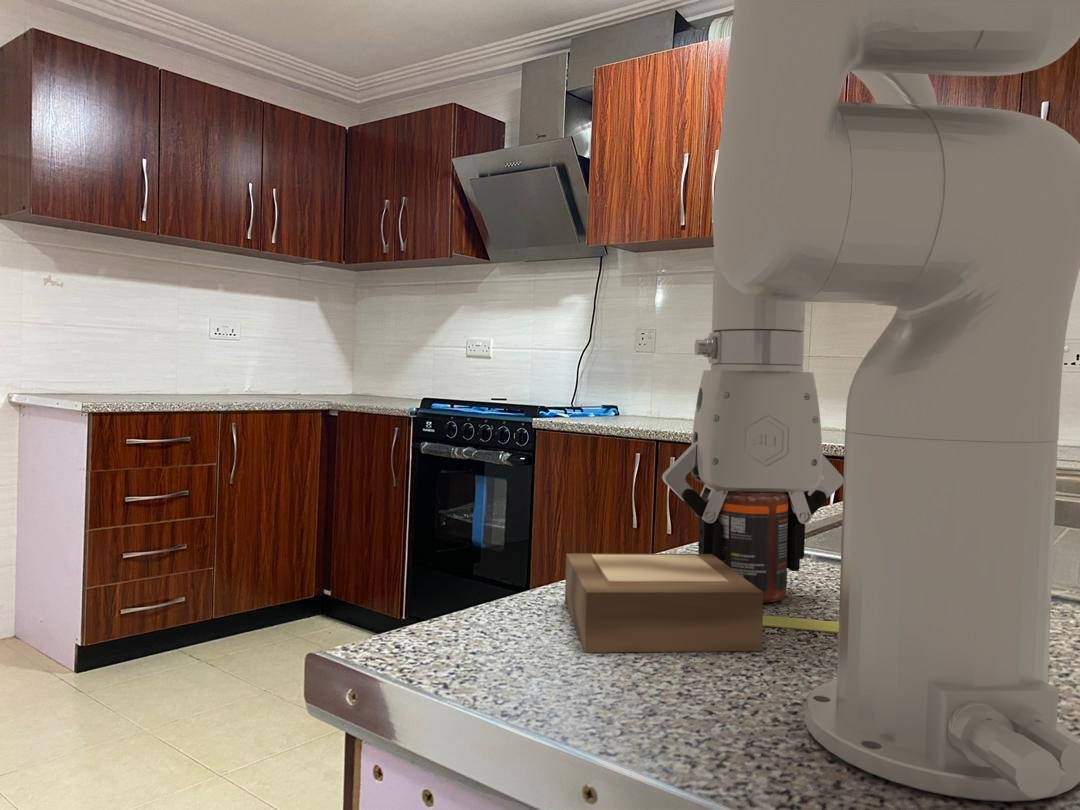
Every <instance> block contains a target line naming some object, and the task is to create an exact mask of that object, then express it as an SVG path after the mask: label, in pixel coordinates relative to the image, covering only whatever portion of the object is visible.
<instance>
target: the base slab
mask: <svg viewBox="0 0 1080 810" xmlns="http://www.w3.org/2000/svg"><path fill="white" fill-rule="evenodd" d="M564 583H565V587H564V588H565V590H564V593H565V594H564V604H565V606H566V608H567V611H568V614H569V616H570V618H571V620H572V623H573V626H574V628H575V631H576V633H577V635H578V638H579V641H580V643H581V645H582V648H583V651H584V653H654V652H655V653H661V652H662V653H666V652H667V653H668V652H669V653H670V652H671V653H674V652H681V653H682V652H684V653H685V652H689V653H690V652H695V653H696V652H697V653H698V652H763V651H762V647H763V646H762V645H763V619H764V617H763V616H764V615H763V614H764V613H763V612H764V603H763V592H762V591H761V590H760V589H758V588H757V587H756V586H754V585H753V584H752V583H750V582H749V581H747V580H746V579H745V578H743V577H742V576H741V575H739V574H738V573H737V572H735V571H734V570H733V569H731V568H730V567H729V566H727V565H726V564H725V563H723V562H722V561H721V560H719V559H718V558H717V557H715V556H714V555H713V554H699V553H572V552H571V553H568V552H567V553H565V582H564Z"/></svg>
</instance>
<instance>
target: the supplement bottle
mask: <svg viewBox="0 0 1080 810" xmlns="http://www.w3.org/2000/svg"><path fill="white" fill-rule="evenodd" d="M718 515H719V523H721V524H722V525H723V551H722V562H723V563H725V564H726V565H727V566H729V567H730V568H731V569H733V570H734V571H735V572H737V573H738V574H739V575H741V576H742V577H743V578H745V579H746V580H747V581H749V582H750V583H752V584H753V585H754V586H756V587H757V588H758V589H760V590H761V591H762V592H763V604H768V603H769V604H771V603H777V602H778V601H780V600H783V598H785V597H786V596H787V586H788V568H787V542H788V540H787V538H788V498H787V495H786V494H785V493H784V492H748V491H728V493H727V495H726V497H725V500H724V502H723V505H722V507H721V509H720V512H719V514H718Z"/></svg>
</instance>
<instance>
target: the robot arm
mask: <svg viewBox="0 0 1080 810" xmlns="http://www.w3.org/2000/svg"><path fill="white" fill-rule="evenodd" d="M1079 39H1080V0H734V4H733V13H732V24H731V33H730V43H729V50H728V51H729V52H728V60H727V61H728V62H727V71H726V79H725V80H726V81H725V88H724V90H725V91H724V99H723V108H722V117H721V118H722V119H721V126H720V127H721V128H720V136H719V146H718V154H717V161H716V162H717V163H716V173H715V183H714V186H715V187H714V195H713V205H712V236H713V237H712V238H713V274H712V275H713V277H712V306H711V307H712V309H711V311H712V312H711V313H712V314H711V319H712V321H711V332H710V333H708V334H709V336H708V337H705V338H704V339H696V340H695V342H694V355H695V356H703V357H704V358H707V360H708V364H710V370H708V369H707V370H703V371H702V375H701V379H700V384H699V387H698V394H697V399H696V404H695V405H696V406H695V411H694V418H693V425H692V426H693V427H692V433H691V434H692V436H691V445H690V446H689V447H688V448H686V450H685V451H684V452H683V453H682V454H681V455H680V456H679V457H678V458H677V459H676V460H675V461H674V462H673V463H672V464H670V466H669V467H668V468H667V469H666V470H665V471H664V472H663V473H662V475H661V479H662V480H663V481H662V482H664V483H665V484H666V485H667V486H668V487H669V489H671V490H672V491H673V492H674V493H675V495H677V497H679V499H681V501H682V502H683V503H684V504H685V505H686V506H687V507H688V508H689V509H690V511H692V512H693V513H694V515H695V516H696V517H698V540H697V541H698V542H697V543H698V545H697V546H698V548H697V550H698V552H697V554H713V555H714V556H715V557H717V558H718V559H719V560H721V561H722V551H723V525H722V524H721V523H719V515H718V514H719V512H720V509H721V507H722V505H723V502H724V500H725V497H726V495H727V493H728V491H748V492H784V493H785V494H786V495H787V498H788V538H787V540H788V542H787V570H790V571H791V572H799V571H800V563H801V560H803V559H804V556H805V545H806V544H805V543H806V542H805V540H806V536H805V535H806V524H809V523H810V522H811V520H812V517H813V515H814V514H815V513H816V512H817V511H818V510H819V509H820V508H821V507H822V506H823V505H824V504H825V503H826V501H827V499H828V498H829V497H831V496H832V495H833V494H834V493H835V492H836V491H838V489H840V487H841V486H842V485H843V486H842V487H843V488H842V516H841V543H840V577H839V578H840V579H839V603H838V604H839V605H838V607H839V609H838V637H837V638H838V639H837V640H838V641H837V665H836V666H837V667H836V669H837V670H836V673H837V674H836V679H831V680H829V681H827V682H824V683H822V684H820V685H818V686H816V687H815V688H814V689H812V690H811V691H810V692H809V693H808V694H807V696H806V697H805V704H804V709H805V710H804V721H805V724H806V728H807V730H808V731H809V733H810V734H811V736H812V737H813V739H814V740H816V742H817V743H819V744H820V745H821V746H823V748H825V749H826V750H827V751H828V752H830V753H832V754H833V756H834V755H835V756H836V757H837V758H839V759H841V760H842V761H844V762H845V763H848V764H850V765H852V766H854V767H856V768H857V769H860V770H862V771H864V772H866V773H869V774H871V775H874V776H876V777H879V778H882V779H885V780H887V781H890V782H892V783H896V784H899V785H903V786H907V787H909V788H914V789H916V790H919V791H924V792H930V793H933V794H939V795H944V796H948V797H955V798H962V799H967V800H968V799H969V800H976V801H988V802H989V801H990V802H991V801H992V802H1005V803H1006V802H1008V803H1009V802H1011V803H1012V802H1025V801H1026V802H1029V801H1037V800H1043V799H1048V798H1053V797H1056V796H1059V795H1060V794H1064V793H1066V792H1068V791H1070V790H1072V789H1073V788H1075V787H1076V786H1077V785H1078V784H1079V783H1080V741H1079V739H1078V738H1077V737H1076V736H1075V735H1074V734H1072V732H1071V731H1069V729H1068V728H1067V727H1065V725H1063V724H1061V723H1059V722H1058V712H1059V710H1058V709H1059V688H1057V687H1055V686H1053V685H1051V684H1049V683H1048V682H1049V681H1048V680H1049V661H1050V659H1049V658H1050V656H1049V655H1050V638H1051V637H1050V633H1051V611H1052V610H1051V609H1052V592H1053V591H1052V590H1053V589H1052V588H1053V587H1052V586H1053V585H1052V584H1053V567H1054V566H1053V563H1054V561H1053V560H1054V543H1055V542H1054V539H1055V538H1054V537H1055V536H1054V535H1055V517H1056V515H1055V513H1056V494H1057V493H1056V491H1057V489H1056V488H1057V471H1058V470H1057V468H1058V467H1057V464H1058V463H1057V462H1058V441H1059V436H1060V435H1059V431H1060V414H1061V413H1060V410H1061V408H1060V407H1061V391H1062V390H1061V389H1062V378H1063V375H1062V374H1063V365H1064V364H1063V362H1064V354H1065V346H1066V345H1065V344H1066V338H1067V330H1068V325H1069V324H1068V323H1069V318H1070V312H1071V307H1072V302H1073V297H1074V293H1075V289H1076V285H1077V280H1078V277H1079V272H1080V143H1079V141H1077V140H1076V138H1074V137H1073V135H1071V134H1070V133H1069V132H1067V131H1066V130H1065V129H1063V128H1061V127H1060V126H1059V125H1057V124H1056V123H1053V122H1050V121H1049V120H1047V119H1044V118H1041V117H1039V116H1035V115H1032V114H1027V113H1023V112H1019V111H1017V110H1016V111H1014V110H1009V109H999V108H993V107H991V108H990V107H979V106H977V107H976V106H965V105H964V106H961V105H941V104H938V101H937V97H936V93H935V90H934V87H933V84H932V82H931V79H930V77H929V75H934V76H935V75H936V76H956V77H957V76H959V77H960V76H962V77H963V76H964V77H965V76H966V77H997V76H999V77H1000V76H1001V77H1002V76H1012V75H1017V74H1022V73H1027V72H1028V73H1029V72H1031V71H1036V70H1039V69H1042V68H1044V67H1047V66H1048V65H1051V64H1052V63H1054V62H1056V61H1058V60H1059V59H1060V58H1061V57H1063V56H1064V55H1065V54H1066V53H1067V52H1068V51H1070V49H1072V47H1074V45H1075V44H1076V43H1077V42H1078V41H1079ZM850 72H851V73H852V74H853V75H855V76H856V77H857V78H858V79H859V80H860V81H861V82H862V83H863V85H865V86H866V88H867V90H868V91H869V93H870V94H871V95H872V98H873V99H874V100H875V103H872V102H855V101H840V98H841V95H842V91H843V87H844V84H845V81H846V79H847V77H848V75H849V73H850ZM806 302H807V303H835V304H837V303H838V304H839V303H840V304H866V305H867V304H868V305H870V304H871V305H872V304H873V305H874V304H875V305H877V306H878V305H879V306H885V307H886V306H889V307H896V310H895V313H894V315H893V317H892V318H891V320H890V322H889V323H888V324H887V326H886V327H885V328H884V329H883V331H882V332H881V334H880V336H879V337H878V338H877V340H876V341H875V342H874V344H873V345H872V346H871V347H870V348H869V350H868V351H867V353H866V354H865V356H864V358H863V359H862V360H861V362H860V364H859V366H858V368H857V370H856V371H855V373H854V376H853V378H852V381H851V383H850V386H849V390H848V396H847V400H846V402H847V403H846V410H845V411H846V412H845V430H844V450H843V451H844V452H843V453H844V456H843V475H842V474H841V473H840V472H839V471H838V470H837V469H836V467H835V466H834V465H833V464H832V463H831V462H830V461H829V459H828V458H826V456H825V455H824V454H823V442H822V425H821V414H820V404H819V396H818V391H817V385H816V380H815V375H814V374H815V373H814V372H810V371H809V372H808V371H804V350H805V349H804V347H805V324H806V323H805V321H806V320H805V318H806V317H805V316H806V314H805V313H806ZM689 473H691V476H692V478H693V479H694V480H695V481H697V482H698V483H701V484H703V488H702V490H701V492H700V494H699V493H698V492H697V491H696V490H694V489H693V487H692V486H691V485H690V484H689V483H688V482H687V480H686V478H687V475H688V474H689Z"/></svg>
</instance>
